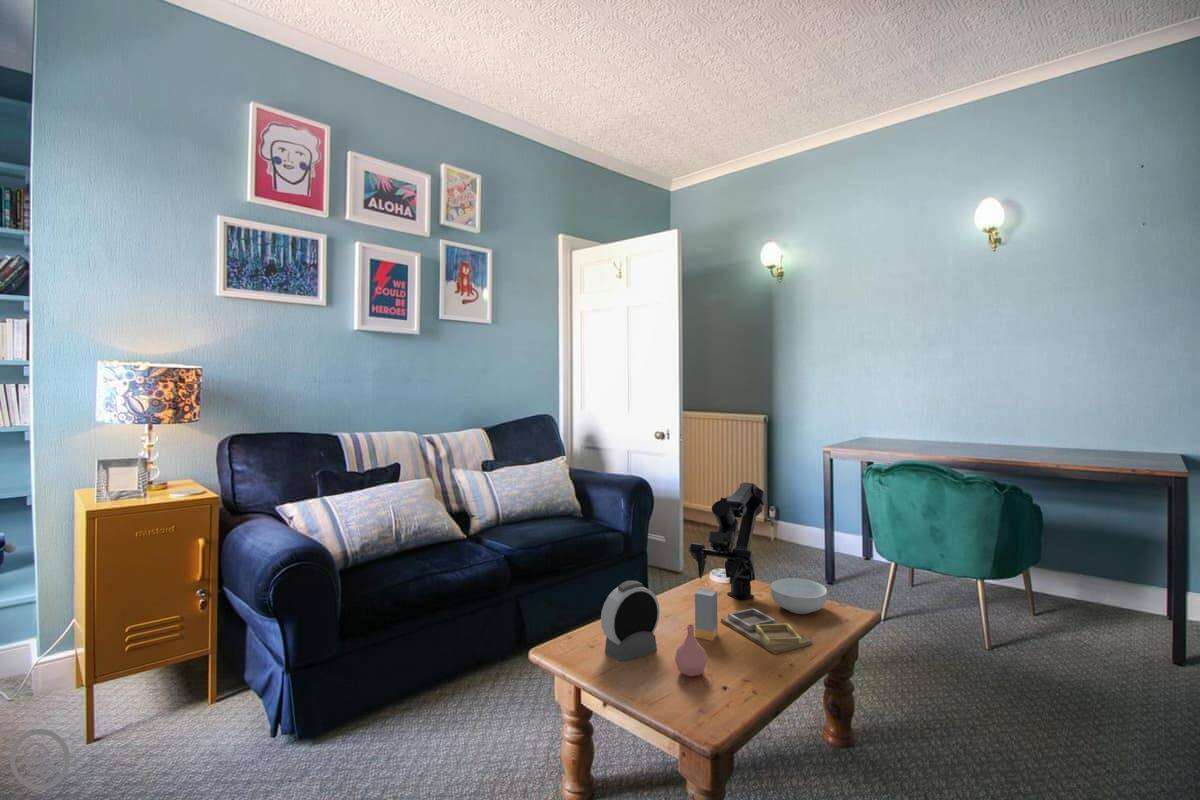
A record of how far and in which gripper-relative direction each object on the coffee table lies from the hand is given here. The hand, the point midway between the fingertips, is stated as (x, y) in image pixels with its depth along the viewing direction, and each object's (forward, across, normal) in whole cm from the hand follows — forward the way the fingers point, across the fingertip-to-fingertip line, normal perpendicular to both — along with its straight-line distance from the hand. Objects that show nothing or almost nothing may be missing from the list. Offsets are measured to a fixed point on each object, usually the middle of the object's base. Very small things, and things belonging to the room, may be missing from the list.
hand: (715, 580), depth 170 cm
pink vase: (+31, +4, -12) cm, 33 cm away
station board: (+8, +14, +11) cm, 19 cm away
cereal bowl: (-7, +19, +27) cm, 34 cm away
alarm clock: (+28, -15, -8) cm, 32 cm away
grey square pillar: (+15, 0, +4) cm, 15 cm away
